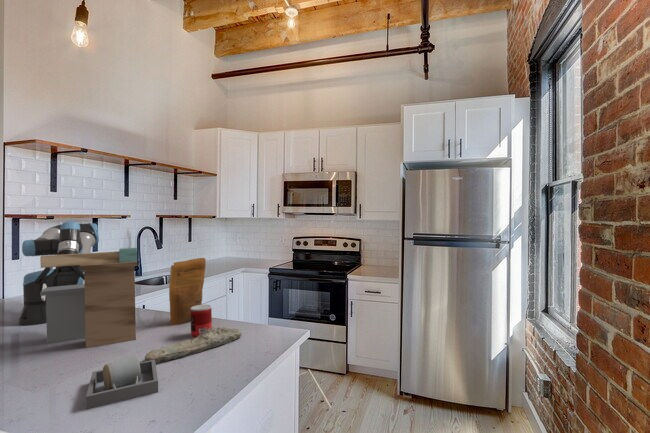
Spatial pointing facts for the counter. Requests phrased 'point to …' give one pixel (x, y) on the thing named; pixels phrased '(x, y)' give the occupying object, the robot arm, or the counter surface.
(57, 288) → the tall grey box
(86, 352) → the counter surface
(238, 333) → the long grey stone
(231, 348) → the counter surface
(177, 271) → the pancake mix bag
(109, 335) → the walnut pedestal
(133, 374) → the white cylinder
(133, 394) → the frame
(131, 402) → the counter surface
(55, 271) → the robot arm
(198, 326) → the canned food
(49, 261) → the oak beam
